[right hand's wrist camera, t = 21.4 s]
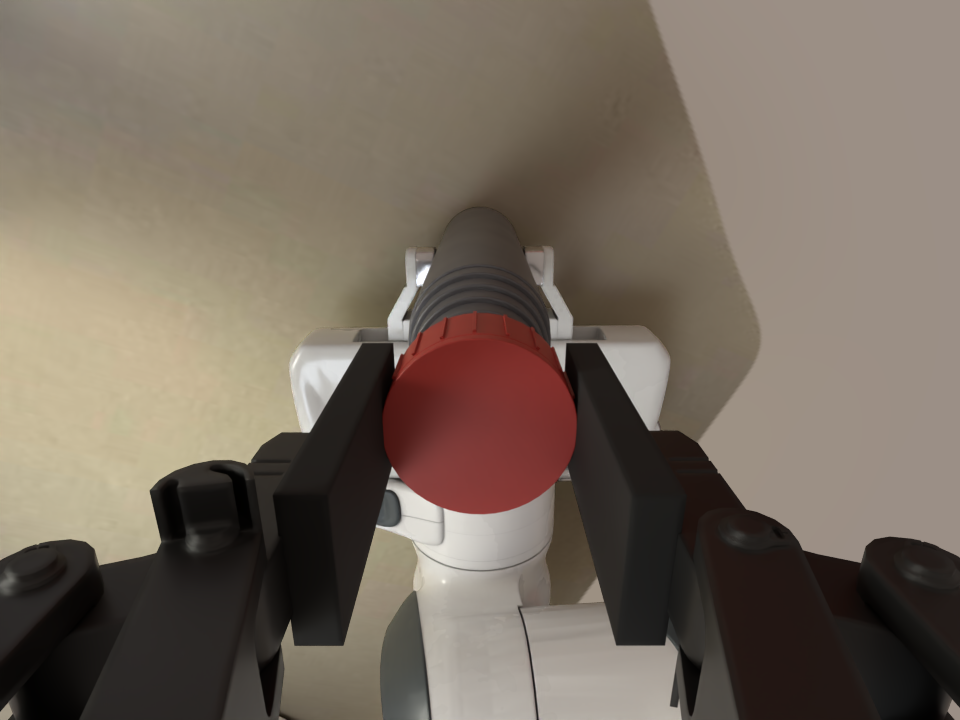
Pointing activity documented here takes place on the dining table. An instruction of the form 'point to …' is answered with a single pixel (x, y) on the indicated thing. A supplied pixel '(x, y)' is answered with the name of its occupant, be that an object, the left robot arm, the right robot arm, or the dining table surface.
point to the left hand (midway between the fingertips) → (478, 247)
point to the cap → (479, 415)
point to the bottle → (479, 276)
